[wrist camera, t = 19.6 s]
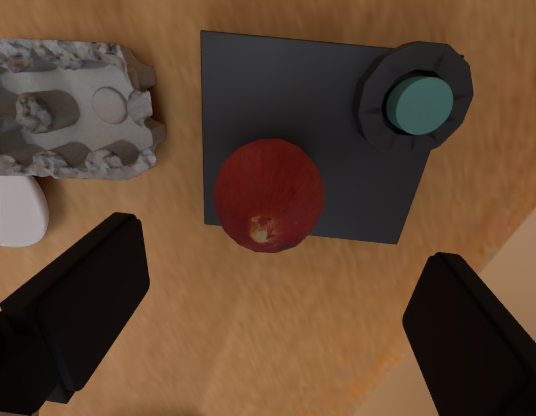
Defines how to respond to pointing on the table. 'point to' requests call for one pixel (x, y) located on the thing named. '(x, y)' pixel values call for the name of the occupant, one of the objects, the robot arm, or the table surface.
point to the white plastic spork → (22, 211)
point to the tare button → (419, 104)
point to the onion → (268, 195)
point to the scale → (327, 120)
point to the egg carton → (75, 110)
